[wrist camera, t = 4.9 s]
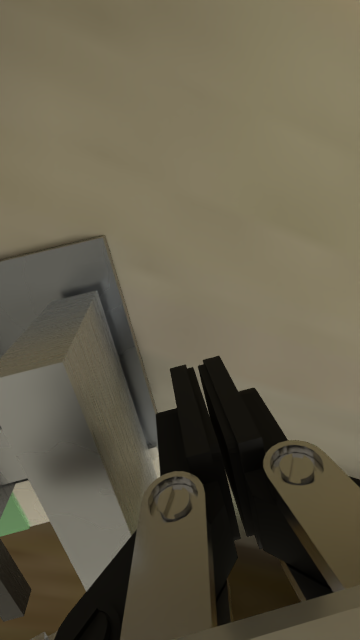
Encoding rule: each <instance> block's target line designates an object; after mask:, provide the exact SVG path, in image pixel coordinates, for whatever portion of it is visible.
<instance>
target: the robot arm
mask: <svg viewBox="0 0 360 640" xmlns="http://www.w3.org/2000/svg"><path fill="white" fill-rule="evenodd" d="M203 363H204V364H203V365H199V366H198V369H199V373H200V377H201V382H202V386H203V390H204V394H205V399H206V403H207V407H208V411H209V414H208V411H207V408H206V405H205V402H204V399H203V396H202V393H201V390H200V387H199V383H198V380H197V377H196V374H195V371H194V368H193V367H192V368H188V369H187V367H186V365H182V366H178V367H174V368H171V369H170V372H171V378H172V383H173V389H174V394H175V399H176V405H177V408H175V409H172V410H168V411H164V412H160V413H156V427H157V440H158V453H159V466H160V477H159V478H157V479H156V480H155V481H153V482H152V483H151V484H150V485H149V487H148V488H147V490H146V491H145V493H144V495H143V498H142V501H141V507H140V513H139V519H138V526H137V530H136V531H135V532H134V533H133V535H132V536H131V537H130V538H129V540H128V541H127V542H126V543H125V545H124V546H123V547H122V548H121V549H120V551H119V552H118V553H117V554H116V556H115V557H114V558H113V559H112V561H111V562H110V563H109V564H108V566H107V567H106V568H105V569H104V571H103V572H102V573H101V574H100V575H99V577H98V578H97V579H96V580H95V582H94V583H93V584H92V585H91V587H90V588H89V589H88V590H87V592H86V593H85V594H84V595H83V597H82V598H81V599H80V600H79V601H78V603H77V604H76V605H75V606H74V608H73V609H72V610H71V611H70V613H69V614H68V615H67V617H66V618H65V620H64V621H63V623H62V624H61V626H60V627H59V629H58V631H57V632H55V633H54V634H52V635H50V636H47V635H46V633H45V632H43V633H41V634H40V635H38V636H36V637H34V638H33V639H31V640H360V480H359V479H356V478H353V477H350V476H348V475H347V474H346V473H345V472H344V471H343V470H342V469H341V468H340V467H339V466H338V465H337V464H336V463H335V462H334V461H333V460H332V459H331V458H330V457H329V456H328V455H327V454H326V453H325V452H323V451H322V450H321V449H320V448H318V447H317V446H315V445H313V444H310V443H308V442H304V441H299V440H287V438H286V436H285V435H284V433H283V432H282V430H281V428H280V427H279V425H278V424H277V422H276V420H275V419H274V417H273V416H272V414H271V413H270V411H269V409H268V408H267V406H266V405H265V403H264V401H263V400H262V398H261V397H260V395H259V393H258V392H257V390H256V389H255V388H250V389H247V390H243V391H239V392H238V390H237V389H236V387H235V385H234V383H233V381H232V379H231V377H230V375H229V373H228V371H227V370H226V368H225V366H224V364H223V362H222V360H221V358H220V356H216V357H213V358H209V359H205V360H203ZM209 416H210V417H209ZM225 471H226V472H225ZM226 474H227V476H226ZM227 477H228V480H229V483H230V486H231V489H232V492H233V495H234V498H235V501H236V505H237V508H238V511H239V514H240V517H241V520H242V523H243V526H244V529H245V532H246V535H247V537H249V536H252V535H255V538H256V540H257V543H258V546H259V549H262V548H263V550H264V551H266V552H268V553H270V554H271V555H273V556H275V557H277V558H279V560H280V563H281V565H282V568H283V570H284V572H285V574H286V576H287V578H288V579H289V581H290V583H291V585H292V587H293V589H294V590H295V592H296V594H297V596H298V598H299V599H300V601H301V602H300V603H296V604H293V605H289V606H286V607H283V608H279V609H276V610H272V611H269V612H265V613H262V614H259V615H255V616H252V617H248V618H245V619H241V620H238V621H235V622H233V612H232V602H231V593H230V584H229V580H228V575H229V573H230V571H231V569H232V568H233V566H234V564H235V562H236V560H237V558H238V557H237V552H236V548H235V544H234V540H238V539H241V537H240V533H239V528H238V524H237V520H236V515H235V511H234V507H233V502H232V498H231V494H230V489H229V485H228V481H227Z"/></svg>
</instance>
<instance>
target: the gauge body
mask: <svg viewBox="0 0 360 640" xmlns="http://www.w3.org/2000/svg"><path fill="white" fill-rule="evenodd" d="M96 290H97V291H98V294H99V297H100V300H101V304H102V307H103V310H104V313H105V316H106V319H107V322H108V325H109V328H110V331H111V335H112V338H113V341H114V344H115V347H116V350H117V353H118V356H119V359H120V362H121V365H122V369H123V372H124V375H125V378H126V381H127V384H128V387H129V390H130V393H131V396H132V400H133V403H134V406H135V409H136V412H137V415H138V418H139V421H140V424H141V427H142V430H143V434H144V437H145V440H146V443H147V446H148V449H149V452H150V455H151V458H152V461H153V465H154V468H155V471H156V474H157V478H159V477H160V466H159V453H158V440H157V427H156V413H157V409H156V406H155V402H154V399H153V396H152V392H151V389H150V385H149V382H148V379H147V375H146V372H145V369H144V365H143V362H142V358H141V355H140V352H139V348H138V345H137V341H136V338H135V335H134V331H133V328H132V324H131V321H130V318H129V314H128V311H127V307H126V304H125V301H124V297H123V294H122V290H121V287H120V284H119V280H118V277H117V273H116V270H115V267H114V263H113V260H112V257H111V253H110V250H109V246H108V243H107V240H106V236H105V235H103V236H99V237H95V238H91V239H87V240H82V241H78V242H74V243H70V244H65V245H61V246H57V247H53V248H49V249H44V250H40V251H36V252H32V253H27V254H23V255H19V256H15V257H10V258H6V259H2V260H0V358H1V357H2V356H3V355H4V354H5V353H6V351H7V350H8V349H9V348H10V347H11V346H12V345H13V344H14V343H15V341H16V340H17V339H18V338H19V337H20V336H21V335H22V334H23V332H24V331H25V330H26V329H27V328H28V327H29V326H30V325H31V323H32V322H33V321H34V320H35V319H36V318H37V317H38V316H39V315H40V313H41V312H42V311H43V310H44V309H45V308H46V307H47V306H48V304H49V303H50V302H51V301H55V300H59V299H63V298H67V297H71V296H76V295H80V294H84V293H88V292H92V291H96ZM49 521H50V520H49V518H48V517H47V515H46V513H45V511H44V509H43V507H42V505H41V503H40V501H39V499H38V497H37V495H36V493H35V491H34V490H33V488H32V486H31V484H30V482H29V480H28V478H27V479H23V480H19V481H15V482H11V483H7V484H4V485H0V536H4V535H7V534H11V533H15V532H19V531H23V530H26V529H29V528H30V526H34V525H38V524H41V523H45V522H49Z"/></svg>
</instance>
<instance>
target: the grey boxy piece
mask: <svg viewBox="0 0 360 640" xmlns="http://www.w3.org/2000/svg"><path fill="white" fill-rule="evenodd" d="M27 478H28V480H29V482H30V484H31V486H32V488H33V490H34V491H35V493H36V495H37V497H38V499H39V501H40V503H41V505H42V507H43V509H44V511H45V513H46V515H47V517H48V518H49V520H50V522H51V524H52V526H53V528H54V530H55V532H56V534H57V536H58V538H59V540H60V542H61V543H62V545H63V547H64V549H65V551H66V553H67V555H68V557H69V559H70V561H71V563H72V565H73V567H74V569H75V570H76V572H77V574H78V576H79V578H80V580H81V582H82V584H83V586H84V588H85V590H86V592H87V590H88V589H89V588H90V587H91V585H92V584H93V583H94V582H95V580H96V579H97V578H98V577H99V575H100V574H101V573H102V572H103V571H104V569H105V568H106V567H107V566H108V564H109V563H110V562H111V561H112V559H113V558H114V557H115V556H116V554H117V553H118V552H119V551H120V549H121V548H122V547H123V546H124V545H125V543H126V542H127V541H128V540H129V538H130V537H131V536H132V535H133V533H134V532H135V531H136V530H137V526H138V519H139V513H140V507H141V501H142V498H143V495H144V493H145V491H146V490H147V488H148V487H149V485H150V484H151V483H152V482H153V481H155V480H156V479H157V474H156V471H155V468H154V465H153V461H152V458H151V455H150V452H149V449H148V446H147V443H146V440H145V437H144V434H143V430H142V427H141V424H140V421H139V418H138V415H137V412H136V409H135V406H134V403H133V400H132V396H131V393H130V390H129V387H128V384H127V381H126V378H125V375H124V372H123V369H122V365H121V362H120V359H119V356H118V353H117V350H116V347H115V344H114V341H113V338H112V335H111V331H110V328H109V325H108V322H107V319H106V316H105V313H104V310H103V307H102V304H101V300H100V297H99V294H98V291H97V290H96V291H92V292H88V293H84V294H80V295H76V296H71V297H67V298H63V299H59V300H55V301H51V302H50V303H49V304H48V306H47V307H46V308H45V309H44V310H43V311H42V312H41V313H40V315H39V316H38V317H37V318H36V319H35V320H34V321H33V322H32V323H31V325H30V326H29V327H28V328H27V329H26V330H25V331H24V332H23V334H22V335H21V336H20V337H19V338H18V339H17V340H16V341H15V343H14V344H13V345H12V346H11V347H10V348H9V349H8V350H7V351H6V353H5V354H4V355H3V356H2V357H1V358H0V485H4V484H7V483H11V482H15V481H19V480H23V479H27ZM30 593H31V588H30V586H29V585H28V583H27V582H26V580H25V578H24V577H23V575H22V573H21V572H20V570H19V569H18V567H17V565H16V564H15V562H14V560H13V559H12V557H11V556H10V554H9V552H8V551H7V549H6V547H5V546H4V544H3V543H2V541H1V539H0V617H1V619H2V620H3V622H4V621H7V620H11V619H14V618H18V617H22V616H24V614H25V610H26V607H27V603H28V600H29V596H30Z"/></svg>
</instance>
